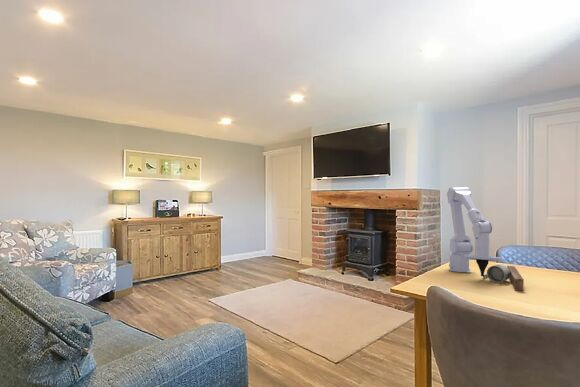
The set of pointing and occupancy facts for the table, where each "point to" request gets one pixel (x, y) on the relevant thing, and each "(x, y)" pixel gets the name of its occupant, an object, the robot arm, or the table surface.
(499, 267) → the ceramic mug
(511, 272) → the walnut board
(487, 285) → the table surface
